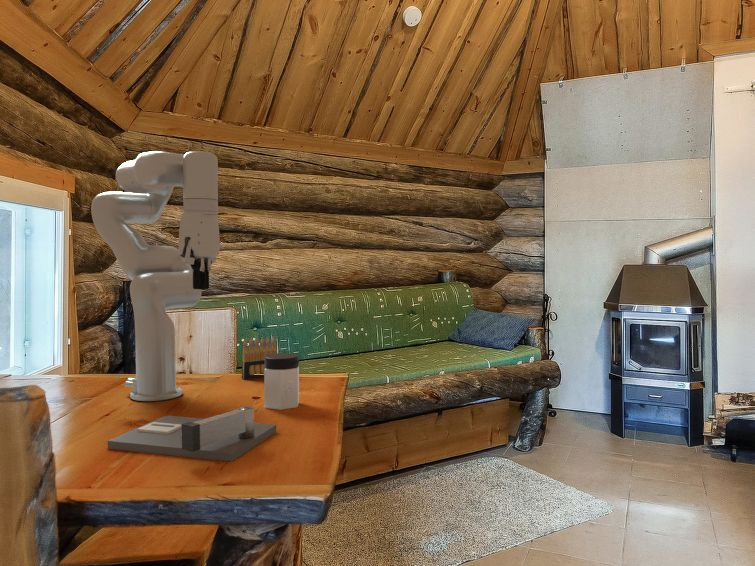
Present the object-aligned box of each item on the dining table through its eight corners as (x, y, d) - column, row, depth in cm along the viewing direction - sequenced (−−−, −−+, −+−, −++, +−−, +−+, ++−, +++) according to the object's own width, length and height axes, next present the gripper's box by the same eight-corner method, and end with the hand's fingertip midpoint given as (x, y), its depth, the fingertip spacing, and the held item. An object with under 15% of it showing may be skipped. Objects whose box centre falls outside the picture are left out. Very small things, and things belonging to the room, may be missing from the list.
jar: (271, 411, 138) (271, 360, 138) (258, 404, 145) (257, 355, 144) (306, 406, 143) (306, 356, 143) (291, 399, 150) (291, 351, 149)
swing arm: (193, 457, 102) (192, 426, 102) (181, 454, 104) (181, 423, 104) (257, 434, 115) (257, 407, 115) (246, 432, 117) (245, 404, 116)
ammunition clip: (243, 380, 173) (243, 338, 172) (241, 378, 174) (241, 337, 174) (278, 375, 179) (277, 335, 178) (275, 374, 180) (275, 335, 180)
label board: (107, 448, 113) (107, 437, 112) (166, 422, 130) (166, 412, 130) (231, 461, 105) (231, 449, 105) (276, 432, 123) (276, 421, 123)
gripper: (204, 209, 144) (205, 286, 145) (165, 205, 129) (166, 290, 131) (232, 209, 141) (232, 287, 143) (196, 205, 127) (196, 292, 128)
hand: (201, 288), depth 137 cm, fingers closed
